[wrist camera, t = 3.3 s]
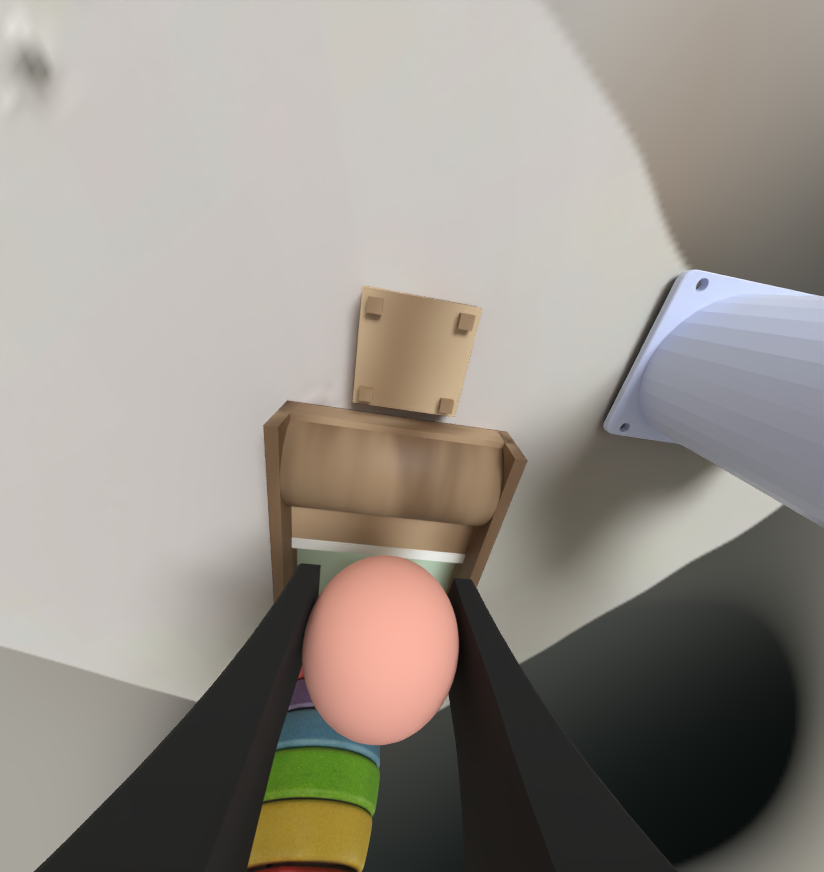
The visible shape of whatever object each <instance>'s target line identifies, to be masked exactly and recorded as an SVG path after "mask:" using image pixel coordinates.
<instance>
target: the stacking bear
mask: <svg viewBox="0 0 824 872" xmlns="http://www.w3.org/2000/svg"><path fill="white" fill-rule="evenodd" d="M379 765H380V752H379V745H368V744H362V743H358V742H354V741H352V740H350V739H348V738H346V737H344V736H342V735H340V734H339V733H337V732H336V731H335V730H334V729H333V728H332V727H330V726H329V725H328V724H327V723H326V722H325V721H324V719H323V718H322V717H321V715H320V714H319V713H318V711H317V710H316V708H315V706H314V704H313V702H312V700H311V698H310V695H309V692H308V689H307V686H306V683H305V679H304V674H303V665H302V668H301V671H300V674H299V677H298V680H297V683H296V687H295V690H294V693H293V696H292V699H291V702H290V706H289V709H288V712H287V715H286V718H285V721H284V725H283V728H282V731H281V734H280V738H279V741H278V745H277V748H276V752H275V756H274V760H273V764H272V768H271V772H270V776H269V780H268V784H267V788H266V792H265V796H264V800H263V805H262V809H261V813H260V817H259V821H258V825H257V829H256V834H255V838H254V842H253V846H252V850H251V854H250V859H249V863H248V867H247V871H246V872H361V871H362V869H363V867H364V863H365V859H366V854H367V850H368V845H369V839H370V833H371V827H372V819H371V818H372V816H373V814H374V812H375V807H376V802H377V795H378V787H379V778H380V775H379V770H378V768H379Z"/></svg>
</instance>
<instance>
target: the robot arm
mask: <svg viewBox="0 0 824 872" xmlns="http://www.w3.org/2000/svg"><path fill="white" fill-rule="evenodd" d="M699 280H700V281H701V283H700V286H699V287H698V289H696V285H697V283H698V282H699ZM623 424H625V425H624V426H623V427H622V428H621V429H620V427H621V426H622V425H623ZM603 428H604V430H605V431H607V432H608V433H610V434H614V435H621V436H628V437H635V438H641V439H648V440H655V441H662V442H669V443H675V444H681V445H682V446H684V447H686V448H688V449H689V450H691V451H693V452H695V453H696V454H698V455H700V456H701V457H703V458H705V459H707V460H708V461H710V462H712V463H713V464H715V465H717V466H719V467H720V468H722V469H724V470H725V471H727V472H729V473H731V474H732V475H734V476H736V477H737V478H739V479H741V480H743V481H744V482H746V483H748V484H750V485H751V486H753V487H755V488H756V489H758V490H760V491H762V492H763V493H765V494H767V495H768V496H770V497H772V498H774V499H775V500H777V501H779V502H780V503H782V504H784V505H786V506H788V507H789V508H791V509H793V510H794V511H796V512H798V513H799V514H801V515H803V516H805V517H806V518H808V519H810V520H812V521H813V522H815V523H817V524H818V525H820V526H822V527H824V296H817V295H812V294H807V293H803V292H798V291H794V290H789V289H784V288H779V287H775V286H770V285H766V284H761V283H757V282H752V281H747V280H743V279H738V278H733V277H729V276H724V275H720V274H715V273H710V272H706V271H701V270H687V271H685V272H683V273H681V274H680V275H679V276H678V278H677V279H676V280H675V282H674V284H673V286H672V288H671V290H670V292H669V294H668V296H667V298H666V300H665V302H664V304H663V306H662V308H661V310H660V312H659V314H658V316H657V318H656V320H655V322H654V324H653V326H652V328H651V330H650V332H649V334H648V336H647V338H646V340H645V342H644V344H643V346H642V348H641V350H640V352H639V354H638V356H637V358H636V360H635V362H634V364H633V366H632V368H631V370H630V372H629V374H628V376H627V378H626V380H625V382H624V384H623V386H622V388H621V390H620V392H619V394H618V396H617V398H616V400H615V402H614V404H613V406H612V408H611V410H610V412H609V414H608V416H607V418H606V420H605V422H604V424H603ZM320 569H321V565H316V564H305V563H301V564H299V565H298V566H297V568H296V569H295V571H294V573H293V575H292V577H291V578H290V580H289V582H288V583H287V585H286V586H285V588H284V590H283V591H282V593H281V594H280V596H279V597H278V599H277V600H276V602H275V603H274V605H273V606H272V608H271V609H270V610H269V612H268V613H267V615H266V616H265V617H264V619H263V620H262V622H261V623H260V624H259V626H258V627H257V629H256V630H255V631H254V633H253V634H252V635H251V637H250V638H249V639H248V641H247V642H246V643H245V645H244V646H243V647H242V648H241V650H240V651H239V652H238V653H237V655H236V656H235V657H234V659H233V660H232V661H231V662H230V664H229V665H228V666H227V667H226V669H225V670H224V671H223V672H222V674H221V675H220V676H219V677H218V678H217V680H216V681H215V682H214V683H213V685H212V686H211V687H210V688H209V689H208V690H207V692H206V693H205V694H204V695H203V696H202V697H201V699H200V700H199V701H198V702H197V703H196V704H195V705H194V707H193V708H192V709H191V710H190V711H189V713H188V714H187V715H186V716H185V717H184V718H183V719H182V720H181V721H180V722H179V724H178V725H177V726H176V727H175V728H174V729H173V730H172V731H171V733H170V734H169V735H168V736H167V737H166V738H165V739H164V740H163V741H162V742H161V743H160V744H159V745H158V747H157V748H156V749H155V750H154V751H153V752H152V753H151V754H150V755H149V756H148V757H147V758H146V759H145V760H144V762H143V763H142V764H141V765H140V766H139V767H138V768H137V769H136V770H135V771H134V772H133V773H132V774H131V775H130V776H129V777H128V778H127V779H126V781H125V782H123V783H122V785H121V786H119V788H117V790H116V791H115V792H114V793H113V794H112V795H111V796H110V797H109V798H108V799H107V800H106V801H105V802H104V803H103V804H102V805H101V806H100V807H99V808H98V809H97V810H96V811H95V812H94V813H93V814H92V815H91V816H90V817H89V818H88V819H87V820H86V821H85V822H84V823H83V824H82V825H81V826H80V827H79V828H78V829H77V830H76V831H75V832H74V833H73V834H72V835H71V836H70V837H69V838H68V839H67V840H66V841H65V842H64V843H63V844H62V845H61V846H60V847H59V848H58V849H57V850H56V851H55V852H54V853H53V854H52V855H51V856H50V857H49V858H48V859H47V860H46V861H45V862H43V863H42V864H41V865H40V866H39V867H38V868H37V869H36V870H35V871H34V872H246V871H247V867H248V863H249V859H250V854H251V850H252V846H253V842H254V838H255V834H256V829H257V825H258V821H259V817H260V813H261V809H262V805H263V800H264V796H265V792H266V788H267V784H268V780H269V776H270V772H271V768H272V764H273V760H274V756H275V752H276V748H277V745H278V741H279V738H280V734H281V731H282V728H283V725H284V721H285V718H286V715H287V712H288V709H289V706H290V702H291V699H292V696H293V693H294V690H295V687H296V683H297V680H298V677H299V674H300V671H301V668H302V665H303V664H302V646H303V638H304V633H305V628H306V624H307V621H308V618H309V615H310V612H311V610H312V608H313V606H314V604H315V602H316V600H317V598H318V597H319V583H320ZM447 597H448V598H449V600H450V603H451V605H452V608H453V611H454V614H455V617H456V622H457V627H458V636H459V654H458V662H457V669H456V673H455V676H454V680H453V683H452V685H451V688H450V690H449V693H448V694H449V700H450V707H451V713H452V719H453V726H454V733H455V740H456V749H457V756H458V769H459V781H460V794H461V806H462V821H463V837H464V852H465V869H466V872H678V871H677V870H676V869H675V868H674V867H673V866H672V865H671V863H670V862H669V861H668V860H667V859H666V858H665V857H664V855H663V854H662V853H661V852H660V851H659V850H658V849H657V847H656V846H655V845H654V844H653V843H652V842H651V841H650V839H649V838H648V837H647V836H646V834H645V833H644V832H643V831H642V830H641V829H640V827H639V826H638V825H637V824H636V823H635V822H634V820H633V819H632V818H631V817H630V816H629V815H628V813H627V812H626V811H625V809H624V808H623V807H622V806H621V805H620V803H619V802H618V801H617V800H616V798H615V797H614V796H613V794H612V793H611V792H610V791H609V789H608V788H607V787H606V786H605V784H604V783H603V782H602V781H601V779H600V778H599V777H598V776H597V774H596V773H595V772H594V771H593V769H592V768H591V767H590V766H589V765H588V763H587V762H586V761H585V759H584V758H583V757H582V756H581V754H580V753H579V751H578V750H577V749H576V747H575V746H574V745H573V743H572V742H571V740H570V739H569V738H568V737H567V735H566V734H565V732H564V731H563V730H562V728H561V727H560V725H559V724H558V723H557V721H556V720H555V719H554V717H553V715H552V714H551V713H550V711H549V710H548V708H547V707H546V705H545V704H544V703H543V701H542V699H541V698H540V696H539V695H538V693H537V692H536V690H535V689H534V687H533V686H532V684H531V683H530V681H529V680H528V678H527V676H526V675H525V673H524V672H523V670H522V668H521V667H520V665H519V664H518V662H517V660H516V659H515V657H514V655H513V654H512V652H511V650H510V649H509V647H508V645H507V643H506V642H505V640H504V638H503V637H502V635H501V633H500V631H499V630H498V628H497V626H496V624H495V622H494V621H493V619H492V617H491V615H490V613H489V611H488V609H487V608H486V606H485V604H484V602H483V600H482V598H481V596H480V594H479V592H478V590H477V588H476V586H475V584H474V582H473V581H472V580H471V579H463V578H454V579H453V581H452V584H451V587H450V590H449V592H448V595H447Z"/></svg>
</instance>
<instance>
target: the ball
mask: <svg viewBox="0 0 824 872" xmlns="http://www.w3.org/2000/svg"><path fill="white" fill-rule="evenodd" d="M458 654H459V636H458V627H457V622H456V617H455V614H454V611H453V608H452V605H451V603H450V600H449V598H448V597H447V595H446V593H445V591H444V589H443V588H442V586H441V585H440V584H439V583H438V581H437V580H436V579H435V578H434V577H433V576H432V575H431V574H430V573H429V572H428V571H427V570H425V569H424V568H423V567H421V566H420V565H418V564H416V563H414V562H412V561H410V560H408V559H405V558H401V557H397V556H387V555H383V556H373V557H368V558H365V559H362V560H359V561H357V562H355V563H353V564H351V565H349V566H348V567H346V568H345V569H343V570H342V571H341V572H339V573H338V574H337V575H336V576H335V577H334V578H333V579H332V580H331V581H330V582H329V583H328V584H327V585H326V586H325V588H324V589H323V591H322V592H321V594H320V595H319V597H318V598H317V600H316V602H315V604H314V606H313V608H312V610H311V612H310V615H309V618H308V621H307V624H306V628H305V633H304V638H303V646H302V664H303V674H304V679H305V683H306V686H307V689H308V692H309V695H310V698H311V700H312V702H313V704H314V706H315V708H316V710H317V711H318V713H319V714H320V715H321V717H322V718H323V719H324V721H325V722H326V723H327V724H328V725H329V726H330V727H332V728H333V729H334V730H335V731H336V732H337V733H339V734H340V735H342V736H344V737H346V738H348V739H350V740H352V741H354V742H358V743H362V744H368V745H384V744H390V743H394V742H398V741H401V740H403V739H405V738H407V737H409V736H410V735H412V734H414V733H416V732H417V731H419V730H420V729H421V728H422V727H423V726H424V725H426V724H427V723H428V722H429V721H430V720H431V719H432V717H433V716H434V715H435V714H436V713H437V711H438V710H439V709H440V707H441V705H442V704H443V702H444V700H445V699H446V697H447V695H448V693H449V690H450V688H451V685H452V683H453V680H454V676H455V673H456V669H457V662H458Z"/></svg>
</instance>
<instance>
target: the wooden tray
mask: <svg viewBox="0 0 824 872" xmlns="http://www.w3.org/2000/svg"><path fill="white" fill-rule="evenodd" d="M263 427H264V443H265V460H266V477H267V493H268V510H269V526H270V543H271V560H272V576H273V593H274V603H275V602H276V600H277V599H278V597H279V596H280V594H281V593H282V591H283V590H284V588H285V586H286V585H287V583H288V582H289V580H290V578H291V577H292V575H293V573H294V571H295V569H296V568H297V566H298V565H299V564H301V563H305V564H316V565H321V569H320V583H319V595H320V594H321V592H322V591H323V589H324V588H325V586H326V585H327V584H328V583H329V582H330V581H331V580H332V579H333V578H334V577H335V576H336V575H337V574H338V573H339V572H341V571H342V570H343V569H345V568H346V567H348V566H349V565H351V564H353V563H355V562H357V561H359V560H362V559H365V558H368V557H373V556H383V555H387V556H397V557H401V558H405V559H408V560H410V561H412V562H414V563H416V564H418V565H420V566H421V567H423V568H424V569H425V570H427V571H428V572H429V573H430V574H431V575H432V576H433V577H434V578H435V579H436V580H437V581H438V583H439V584H440V585H441V586H442V588H443V589H444V591H445V593H446V595H448V592H449V590H450V587H451V584H452V581H453V579H454V578H463V579H471V580H472V581H473V582H474V584H475V586H476V587H477V585H478V582H479V580H480V577H481V575H482V572H483V570H484V567H485V565H486V562H487V560H488V557H489V555H490V552H491V550H492V547H493V545H494V542H495V540H496V537H497V535H498V532H499V530H500V527H501V525H502V522H503V520H504V517H505V515H506V512H507V510H508V507H509V505H510V503H511V500H512V498H513V495H514V493H515V490H516V488H517V485H518V483H519V480H520V478H521V475H522V473H523V470H524V468H525V465H526V463H527V459H526V458H525V456H524V455H523V454H522V452H521V451H520V449H519V448H518V447H517V445H516V444H515V442H514V441H513V439H512V438H511V437H510V435H509V434H508V432H505V431H498V430H491V429H484V428H477V427H469V426H462V425H455V424H448V423H441V422H434V421H427V420H420V419H413V418H406V417H399V416H392V415H385V414H378V413H371V412H364V411H357V410H350V409H343V408H336V407H329V406H322V405H315V404H308V403H301V402H294V401H286V402H285V403H284V405H283V406H282V407H281V408H280V409H279V410H278V411H277V412H276V413H275V414H274V415H273V416H272V417H271V418H270V419H269V420H268V421H267V422H266V423H265V424H264V425H263Z"/></svg>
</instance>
